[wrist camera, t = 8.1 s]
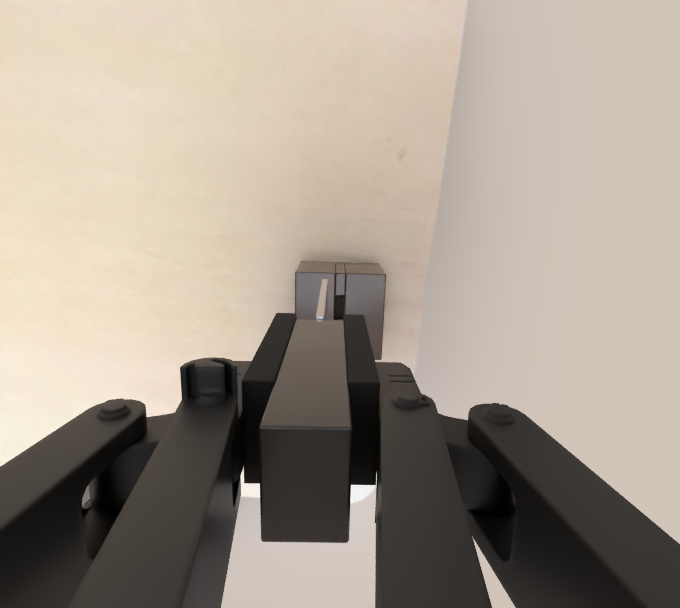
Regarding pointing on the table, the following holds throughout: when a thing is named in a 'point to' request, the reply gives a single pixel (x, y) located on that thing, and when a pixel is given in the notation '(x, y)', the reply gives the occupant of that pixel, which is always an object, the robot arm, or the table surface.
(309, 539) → the butter knife
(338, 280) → the knife block
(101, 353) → the table surface
